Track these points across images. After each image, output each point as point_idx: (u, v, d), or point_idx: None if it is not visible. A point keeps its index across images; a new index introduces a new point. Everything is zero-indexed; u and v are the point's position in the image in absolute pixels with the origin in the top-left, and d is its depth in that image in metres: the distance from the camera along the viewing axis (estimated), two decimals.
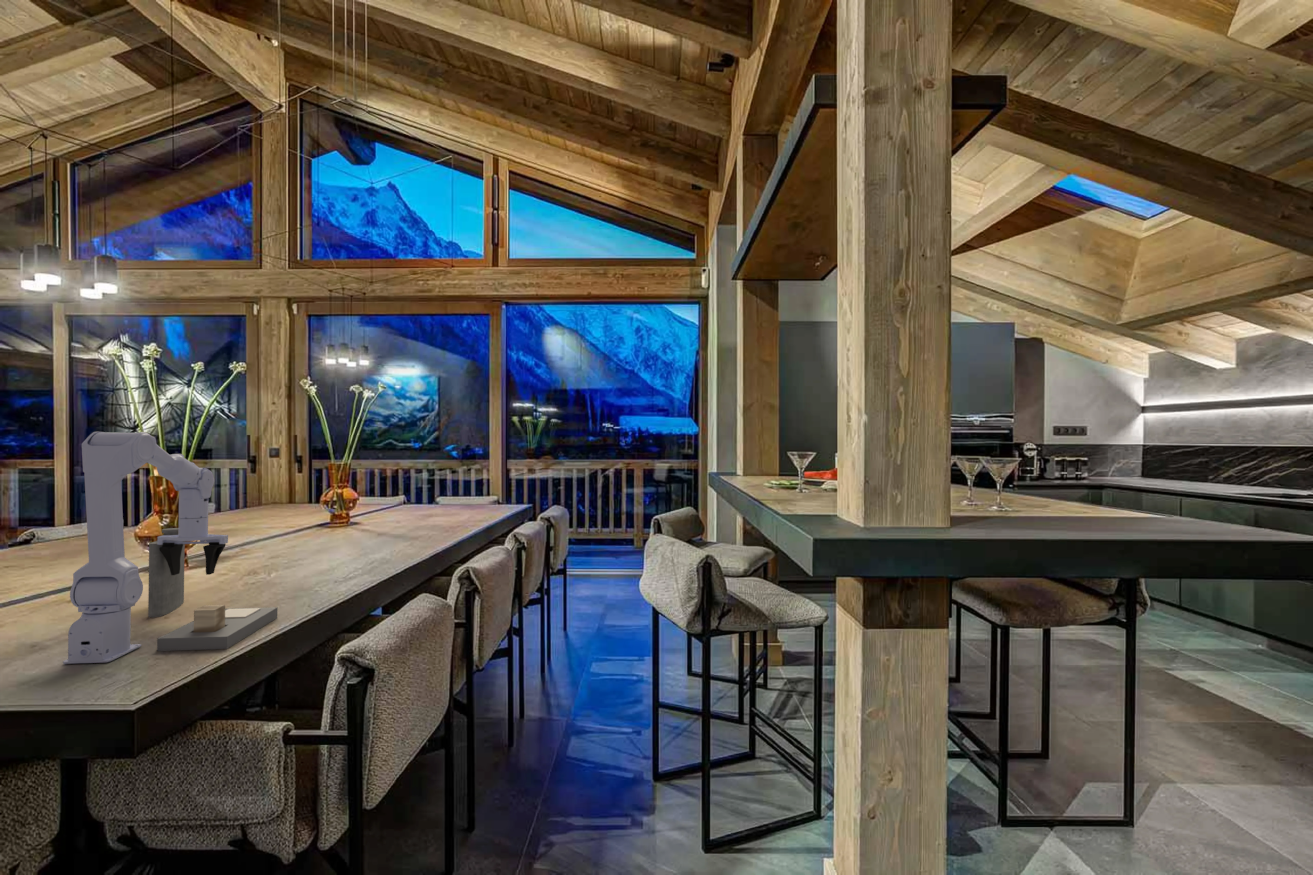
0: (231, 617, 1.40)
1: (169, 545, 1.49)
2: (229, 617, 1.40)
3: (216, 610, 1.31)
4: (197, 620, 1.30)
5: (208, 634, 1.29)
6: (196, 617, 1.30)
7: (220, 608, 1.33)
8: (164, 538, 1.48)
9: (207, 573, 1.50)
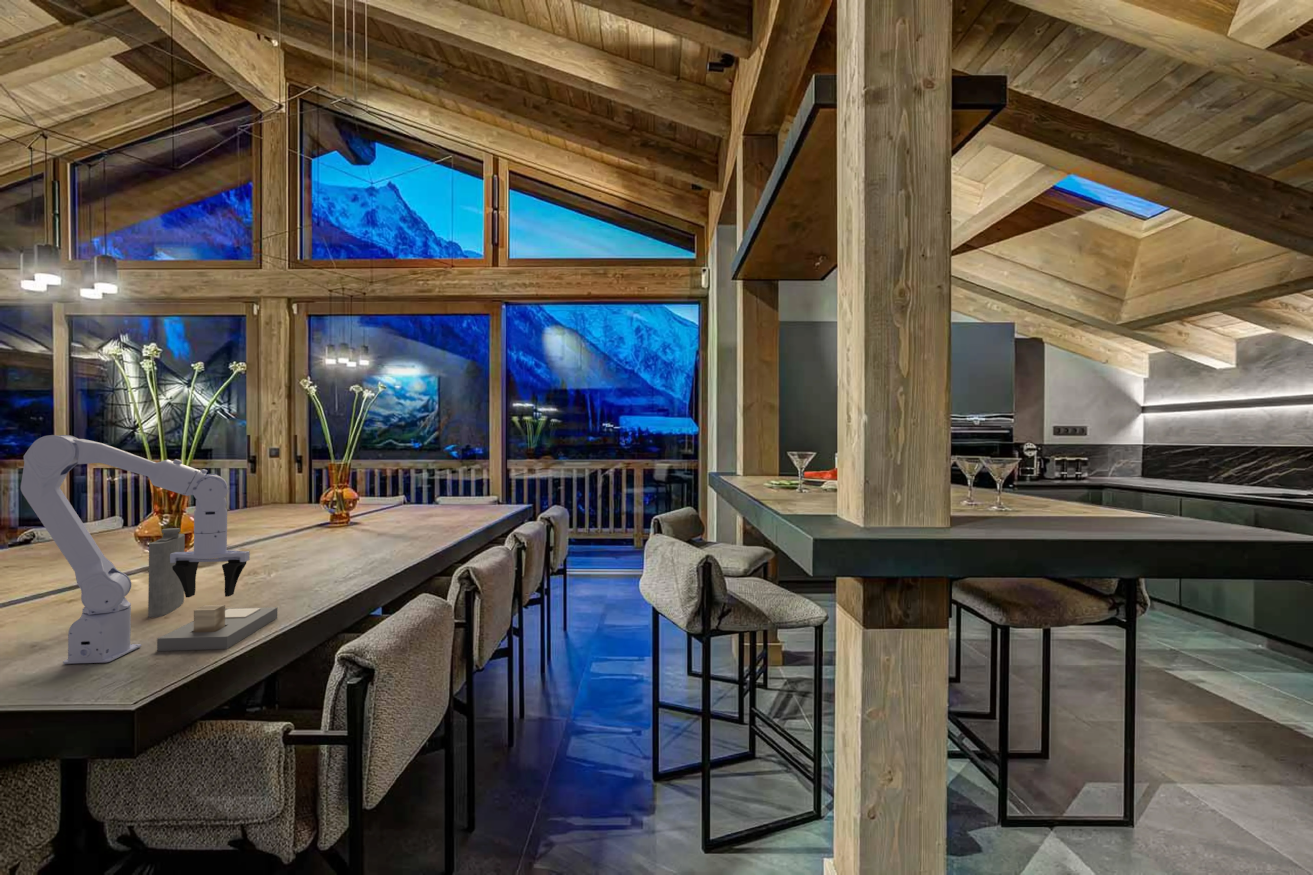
0: (231, 617, 1.40)
1: (183, 563, 1.31)
2: (229, 617, 1.40)
3: (216, 610, 1.31)
4: (197, 620, 1.30)
5: (208, 634, 1.29)
6: (196, 617, 1.30)
7: (220, 608, 1.33)
8: (178, 555, 1.31)
9: (226, 595, 1.32)
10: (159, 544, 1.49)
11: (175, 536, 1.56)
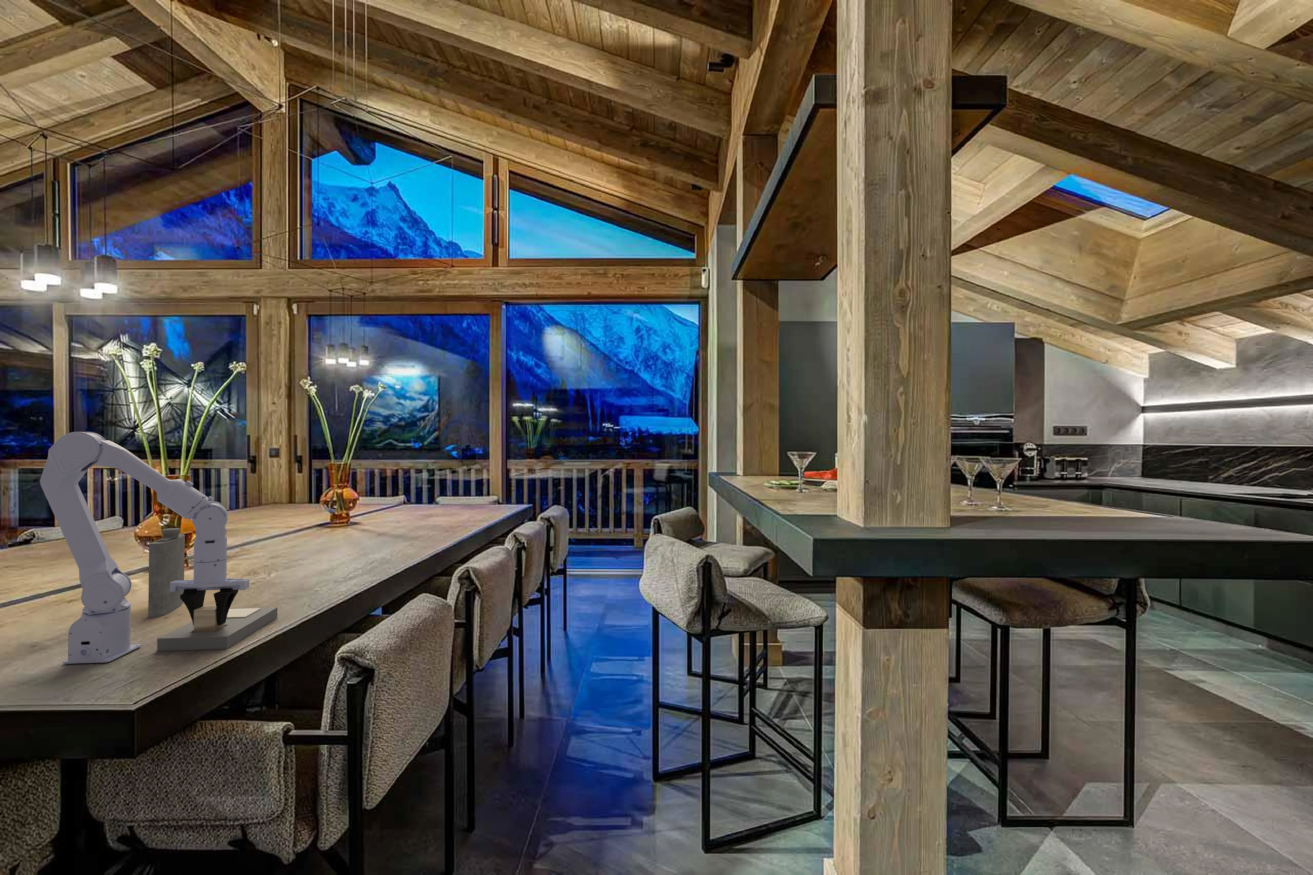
0: (231, 617, 1.40)
1: (191, 592, 1.31)
2: (229, 617, 1.40)
3: (216, 610, 1.31)
4: (197, 620, 1.30)
5: (208, 634, 1.29)
6: (196, 617, 1.30)
7: None
8: (177, 584, 1.31)
9: (218, 623, 1.32)
10: (159, 544, 1.49)
11: (175, 536, 1.56)
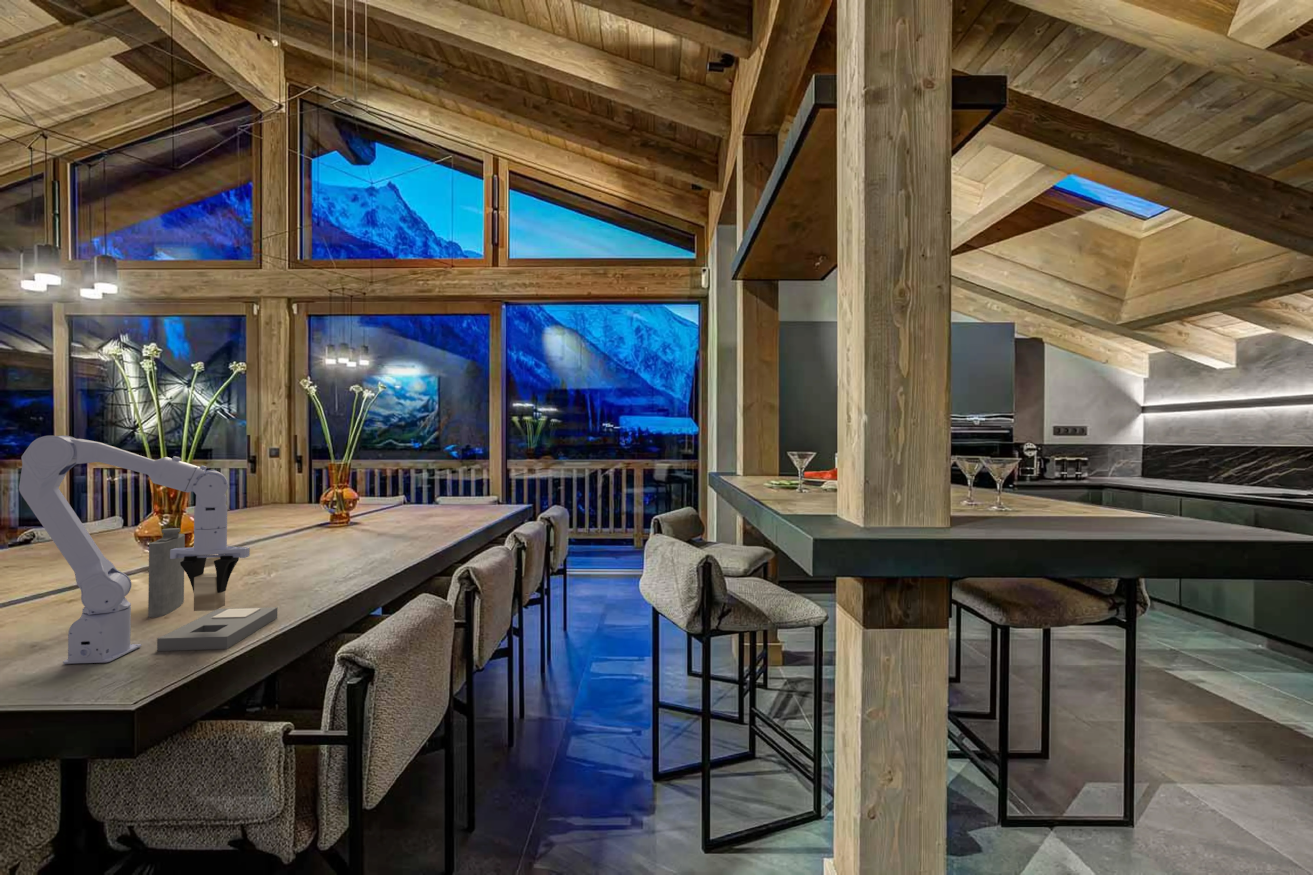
0: (231, 617, 1.40)
1: (191, 559, 1.31)
2: (229, 617, 1.40)
3: (216, 577, 1.31)
4: (197, 587, 1.30)
5: (208, 634, 1.29)
6: (196, 584, 1.30)
7: None
8: (178, 551, 1.31)
9: (218, 591, 1.32)
10: (159, 544, 1.49)
11: (175, 536, 1.56)
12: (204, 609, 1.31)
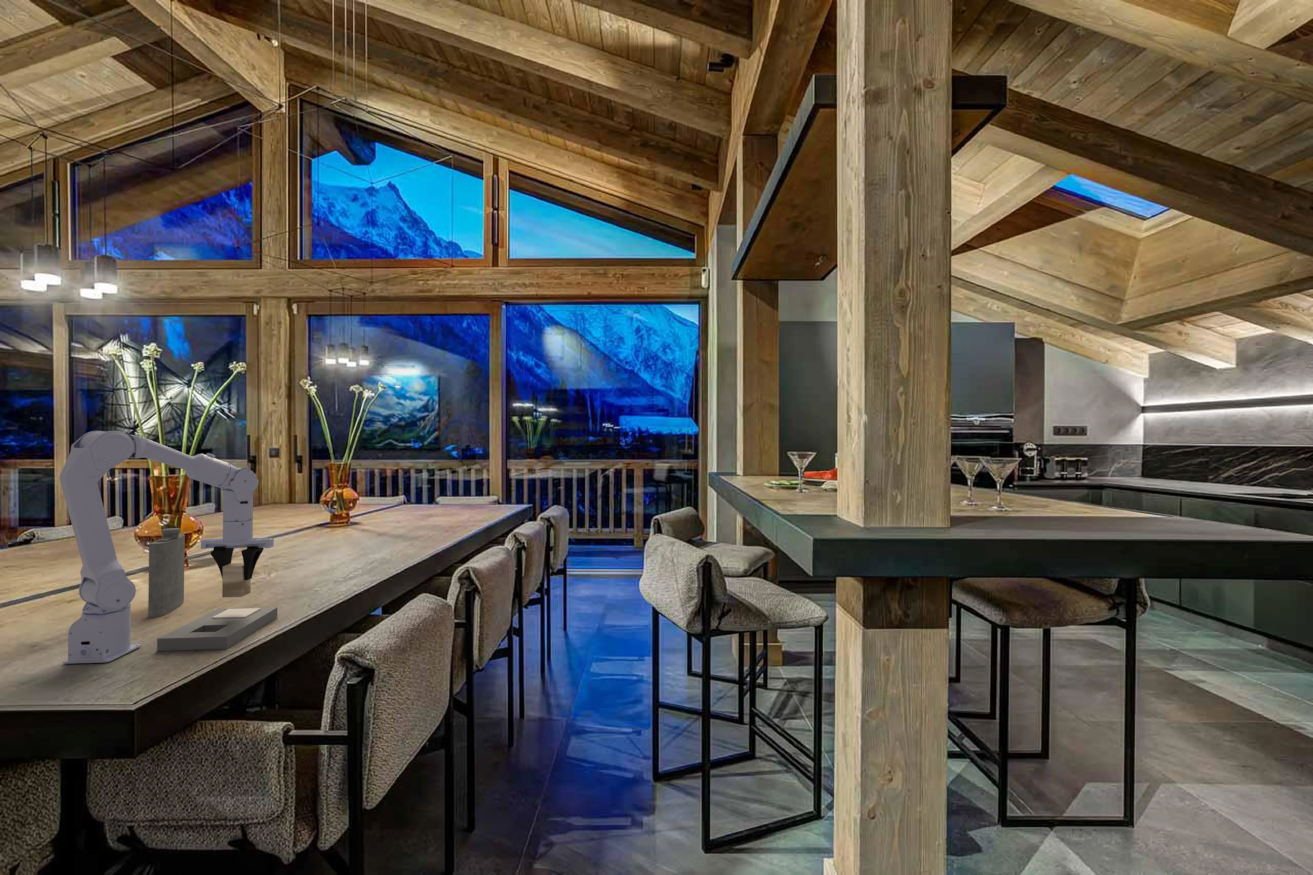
0: (231, 617, 1.40)
1: (220, 549, 1.42)
2: (229, 617, 1.40)
3: (243, 566, 1.42)
4: (225, 575, 1.41)
5: (208, 634, 1.29)
6: (225, 573, 1.41)
7: None
8: (208, 542, 1.41)
9: (245, 579, 1.43)
10: (159, 544, 1.49)
11: (175, 536, 1.56)
12: (232, 596, 1.41)
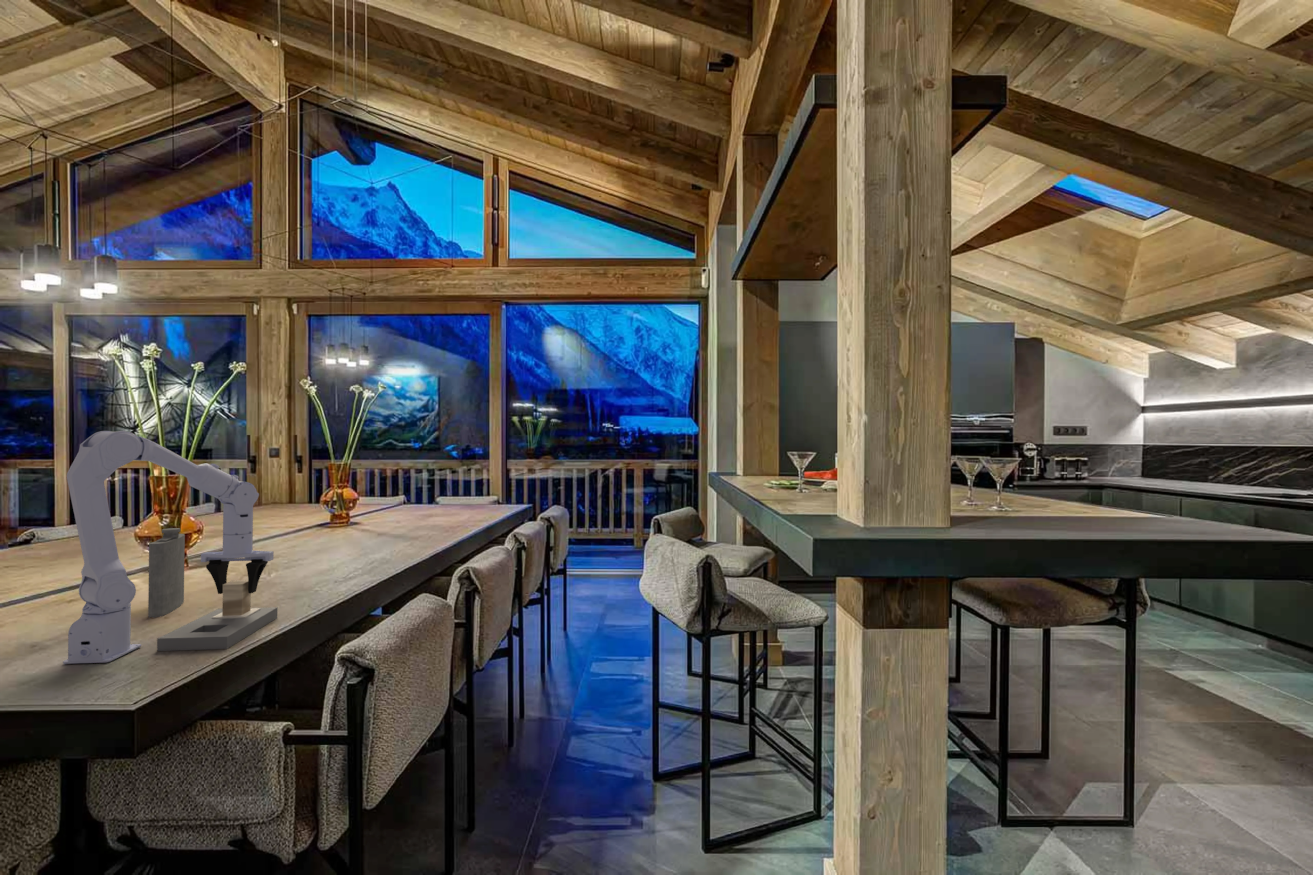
0: (231, 617, 1.40)
1: (216, 562, 1.42)
2: (229, 617, 1.40)
3: (243, 584, 1.42)
4: (226, 593, 1.41)
5: (208, 634, 1.29)
6: (225, 591, 1.41)
7: (246, 583, 1.44)
8: (208, 555, 1.41)
9: (249, 592, 1.43)
10: (159, 544, 1.49)
11: (175, 536, 1.56)
12: (232, 614, 1.41)
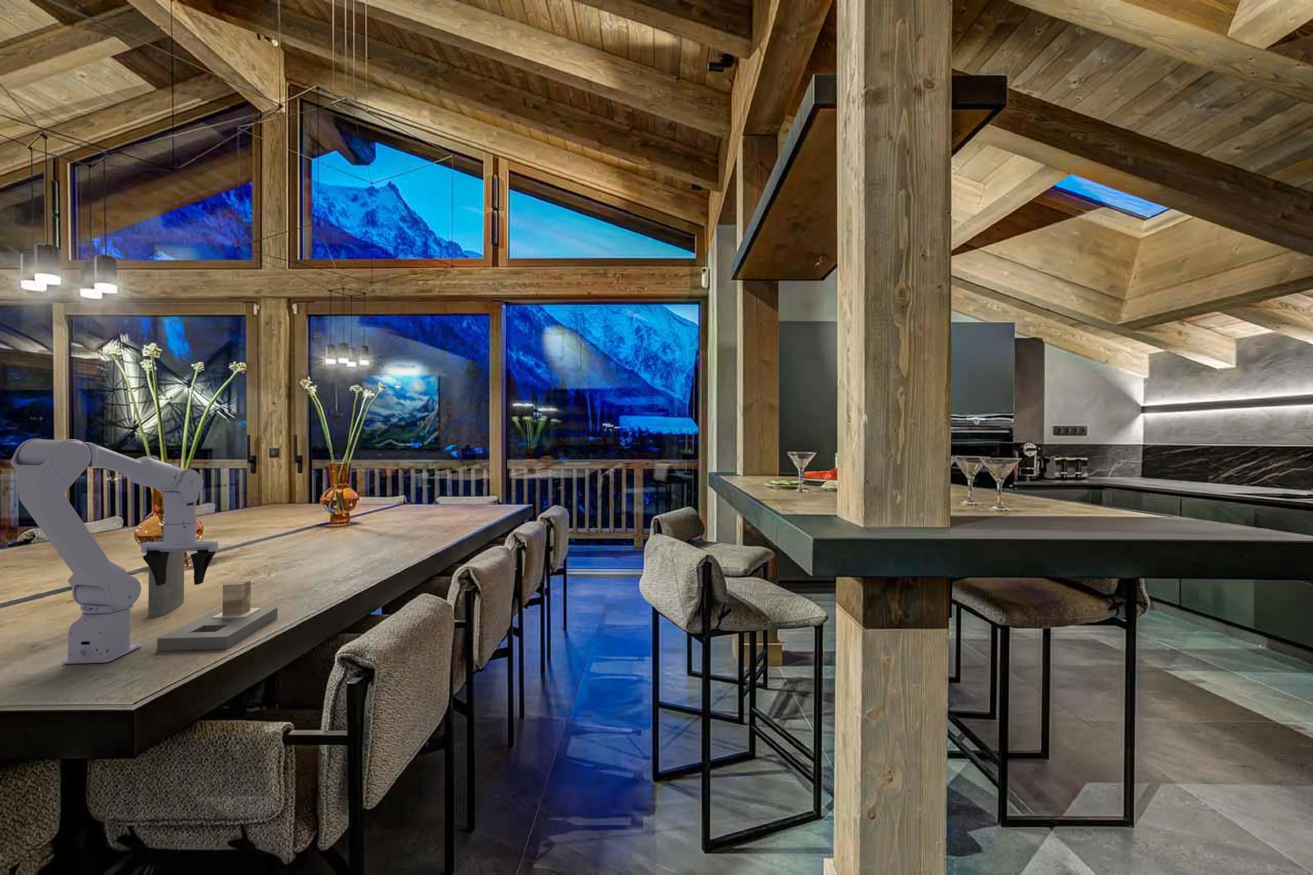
0: (231, 617, 1.40)
1: (154, 553, 1.37)
2: (229, 617, 1.40)
3: (243, 584, 1.42)
4: (226, 593, 1.41)
5: (208, 634, 1.29)
6: (225, 591, 1.41)
7: (246, 583, 1.44)
8: (148, 545, 1.36)
9: (195, 583, 1.38)
10: None
11: None
12: (232, 614, 1.41)
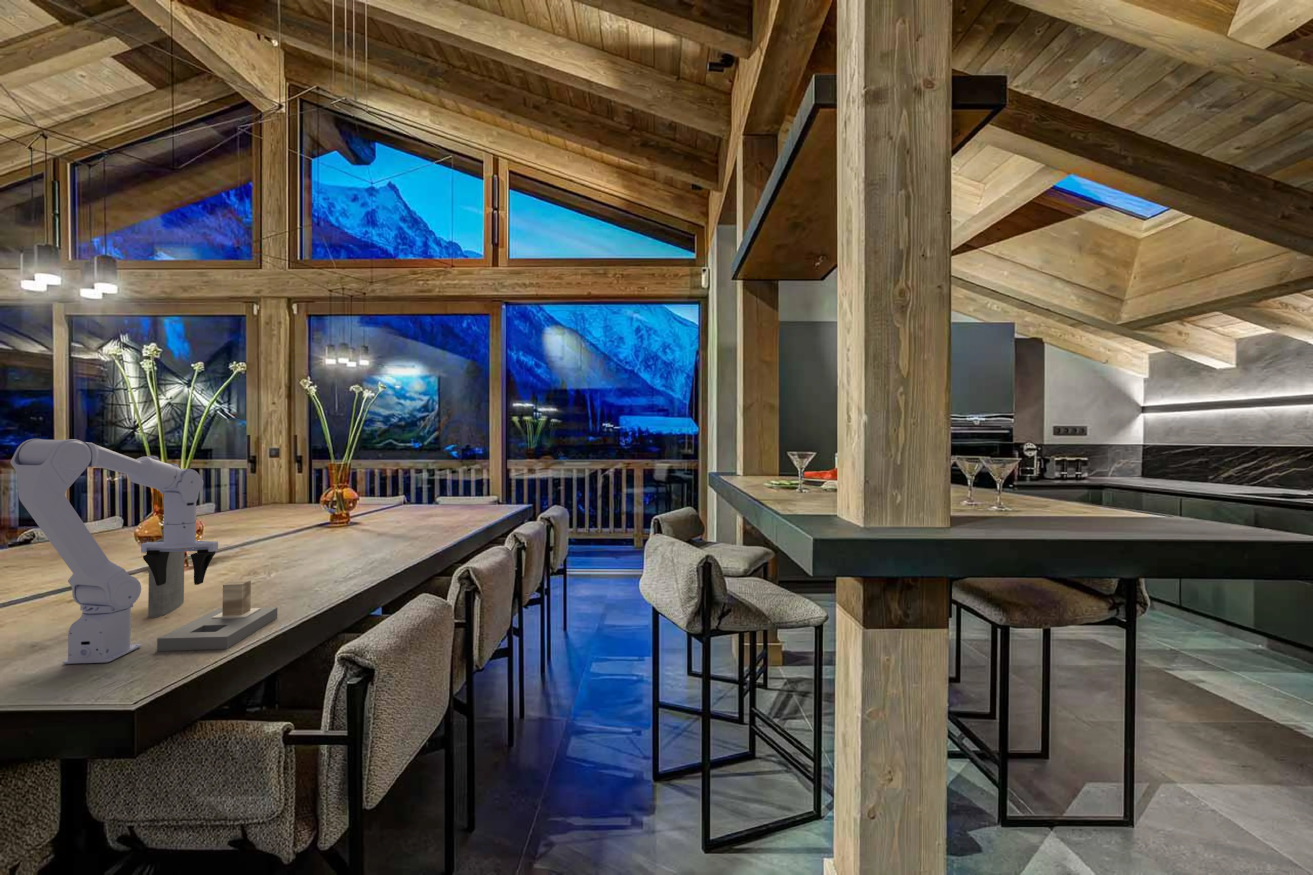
0: (231, 617, 1.40)
1: (154, 553, 1.37)
2: (229, 617, 1.40)
3: (243, 584, 1.42)
4: (226, 593, 1.41)
5: (208, 634, 1.29)
6: (225, 591, 1.41)
7: (246, 583, 1.44)
8: (148, 545, 1.36)
9: (195, 583, 1.38)
10: None
11: None
12: (232, 614, 1.41)
